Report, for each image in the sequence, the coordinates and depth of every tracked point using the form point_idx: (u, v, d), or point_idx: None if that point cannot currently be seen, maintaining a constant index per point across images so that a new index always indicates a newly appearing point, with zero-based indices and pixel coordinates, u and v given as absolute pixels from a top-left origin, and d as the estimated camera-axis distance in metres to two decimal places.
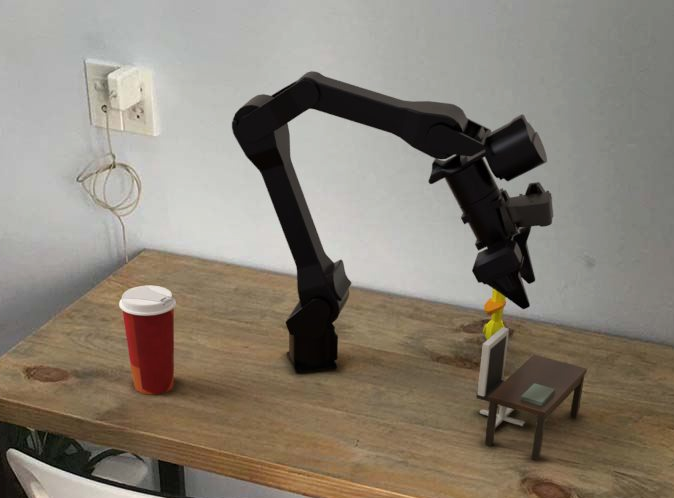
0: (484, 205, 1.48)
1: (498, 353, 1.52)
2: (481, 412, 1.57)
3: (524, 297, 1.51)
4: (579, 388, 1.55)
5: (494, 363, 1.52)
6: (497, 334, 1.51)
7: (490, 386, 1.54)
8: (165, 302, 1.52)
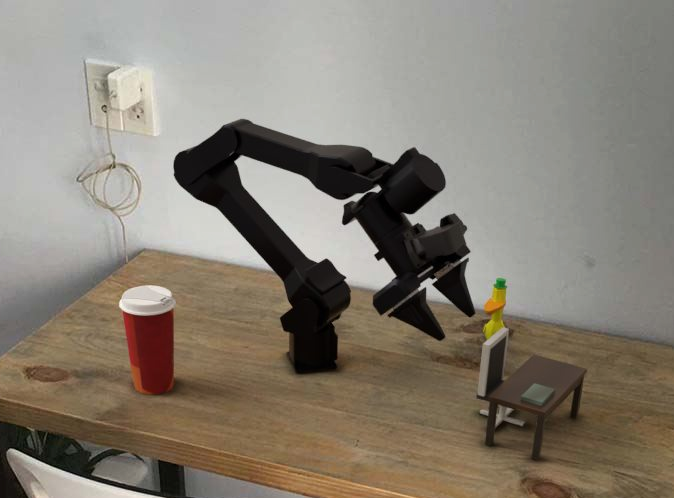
0: (389, 240, 1.49)
1: (498, 353, 1.52)
2: (481, 412, 1.57)
3: (436, 328, 1.49)
4: (579, 388, 1.55)
5: (494, 363, 1.52)
6: (497, 334, 1.51)
7: (490, 386, 1.54)
8: (165, 302, 1.52)
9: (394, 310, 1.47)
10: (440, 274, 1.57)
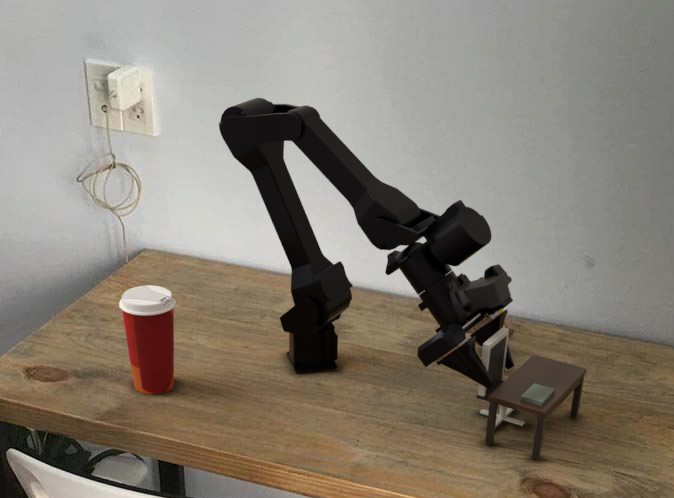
0: (434, 291, 1.49)
1: (498, 353, 1.52)
2: (481, 412, 1.57)
3: (484, 376, 1.50)
4: (579, 388, 1.55)
5: (494, 363, 1.52)
6: (497, 334, 1.51)
7: None
8: (165, 302, 1.52)
9: (443, 358, 1.49)
10: (478, 326, 1.56)
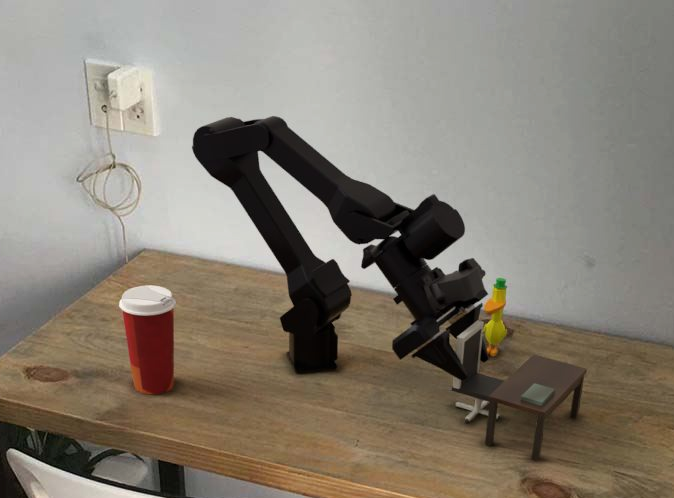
0: (408, 285, 1.51)
1: (472, 346, 1.54)
2: (457, 405, 1.59)
3: (458, 368, 1.51)
4: (579, 388, 1.55)
5: (469, 355, 1.54)
6: (472, 327, 1.53)
7: (465, 379, 1.55)
8: (165, 302, 1.52)
9: (418, 351, 1.50)
10: (454, 319, 1.58)
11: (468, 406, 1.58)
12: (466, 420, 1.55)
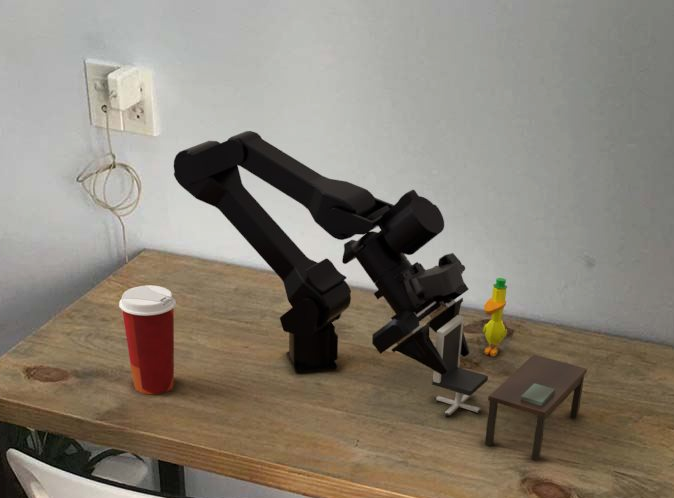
0: (389, 279, 1.52)
1: (453, 340, 1.55)
2: (438, 399, 1.60)
3: (438, 363, 1.53)
4: (579, 388, 1.55)
5: (449, 350, 1.55)
6: (451, 322, 1.54)
7: (445, 373, 1.56)
8: (165, 302, 1.52)
9: (398, 345, 1.51)
10: (435, 314, 1.59)
11: (449, 400, 1.60)
12: (446, 414, 1.57)
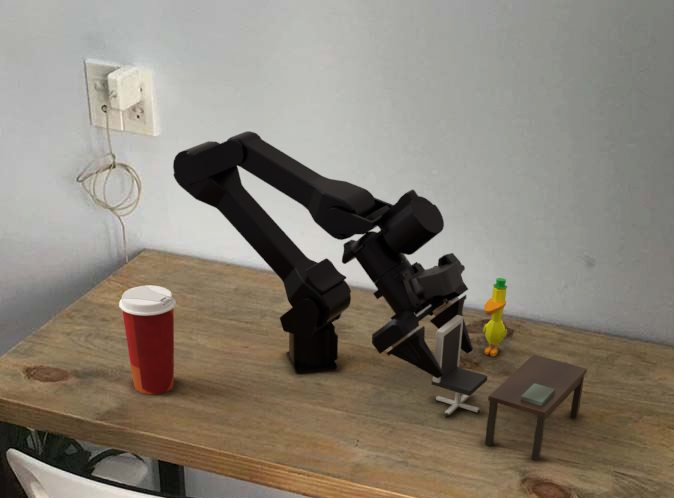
0: (388, 279, 1.52)
1: (452, 340, 1.55)
2: (437, 399, 1.60)
3: (434, 366, 1.52)
4: (579, 388, 1.55)
5: (449, 350, 1.55)
6: (451, 321, 1.54)
7: (445, 373, 1.56)
8: (165, 302, 1.52)
9: (393, 348, 1.50)
10: (438, 311, 1.60)
11: (448, 400, 1.60)
12: (446, 414, 1.57)
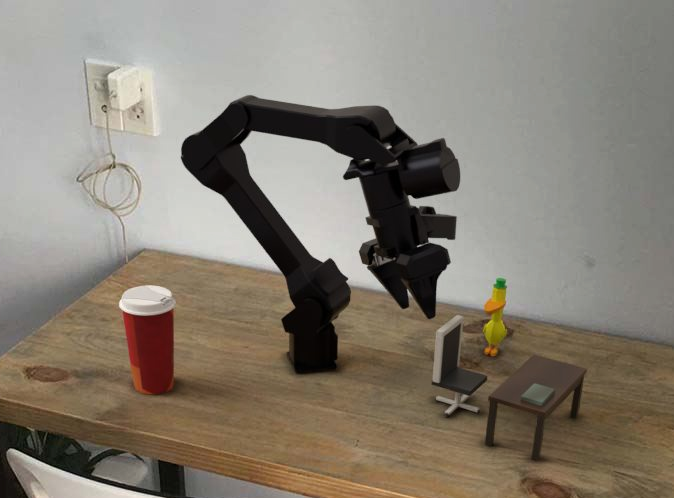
0: (403, 210, 1.49)
1: (452, 340, 1.55)
2: (437, 399, 1.60)
3: (434, 305, 1.52)
4: (579, 388, 1.55)
5: (449, 350, 1.55)
6: (451, 321, 1.54)
7: (445, 373, 1.56)
8: (165, 302, 1.52)
9: (420, 276, 1.47)
10: (383, 261, 1.59)
11: (448, 400, 1.60)
12: (446, 414, 1.57)
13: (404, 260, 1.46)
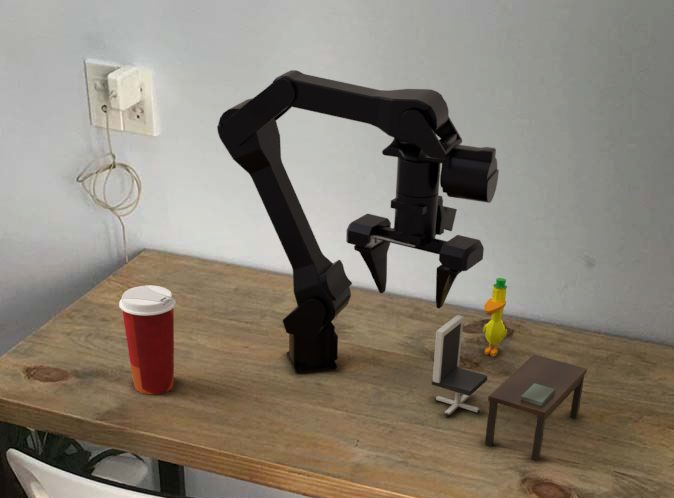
0: (437, 199, 1.50)
1: (452, 340, 1.55)
2: (437, 399, 1.60)
3: (446, 295, 1.55)
4: (579, 388, 1.55)
5: (449, 350, 1.55)
6: (451, 321, 1.54)
7: (445, 373, 1.56)
8: (165, 302, 1.52)
9: None
10: (375, 244, 1.56)
11: (448, 400, 1.60)
12: (446, 414, 1.57)
13: (455, 252, 1.48)
